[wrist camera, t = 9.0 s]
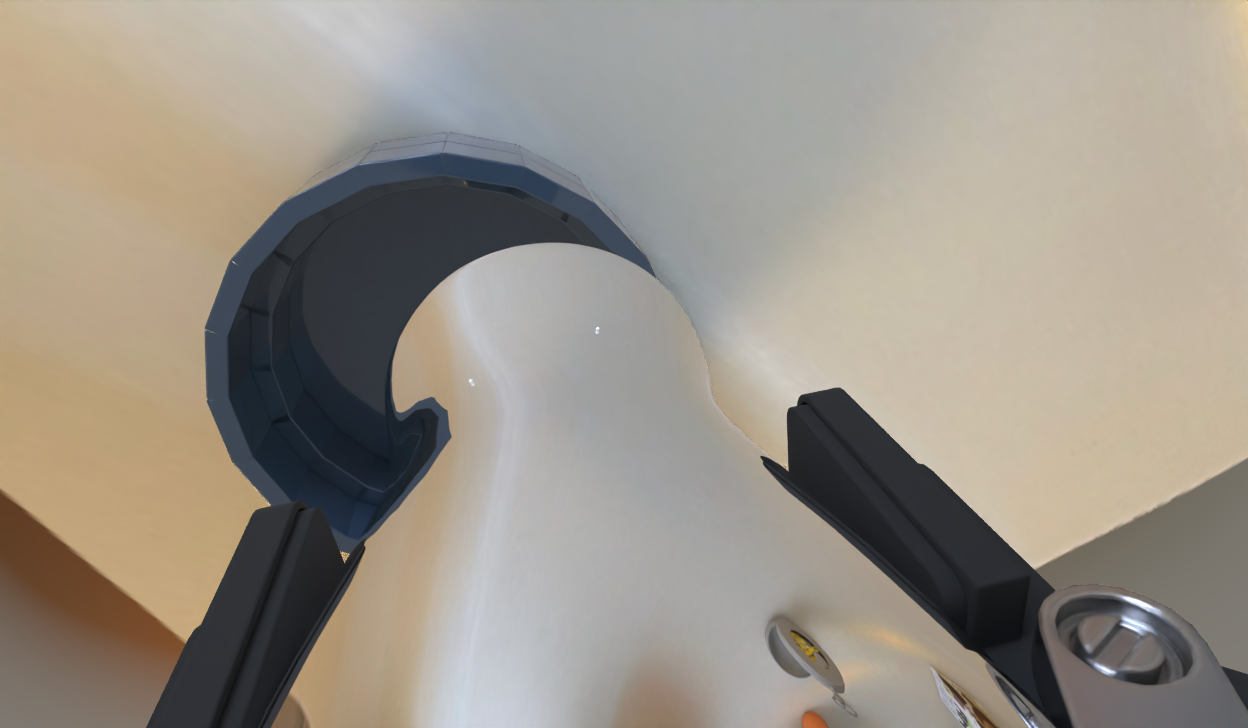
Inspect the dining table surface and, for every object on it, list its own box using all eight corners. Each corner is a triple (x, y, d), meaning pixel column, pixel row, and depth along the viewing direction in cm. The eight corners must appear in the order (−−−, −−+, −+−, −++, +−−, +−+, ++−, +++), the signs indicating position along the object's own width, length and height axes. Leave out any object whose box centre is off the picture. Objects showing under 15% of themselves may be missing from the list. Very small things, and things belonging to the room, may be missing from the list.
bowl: (321, 522, 36) (293, 608, 31) (189, 166, 28) (120, 198, 23) (663, 455, 38) (693, 524, 32) (625, 105, 30) (656, 120, 25)
